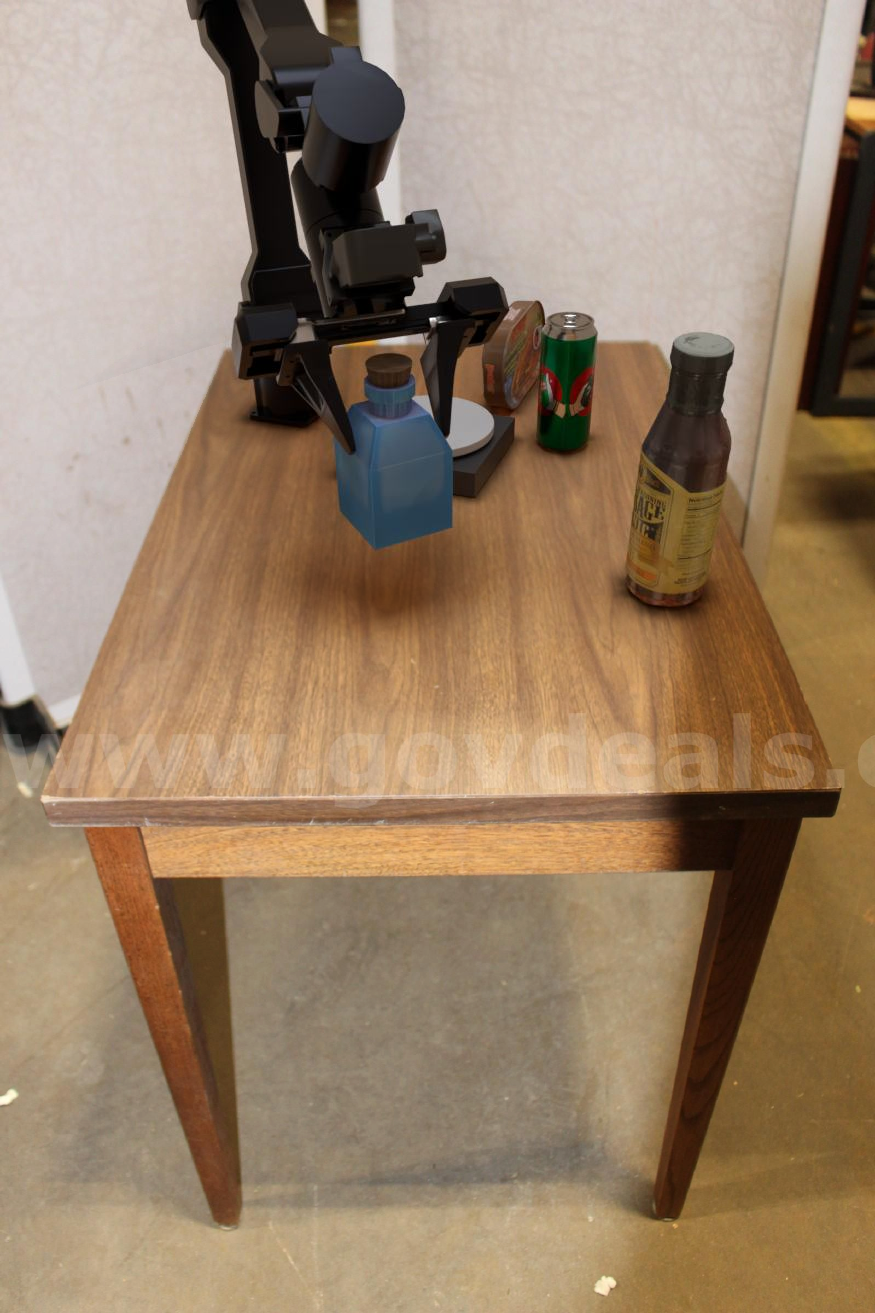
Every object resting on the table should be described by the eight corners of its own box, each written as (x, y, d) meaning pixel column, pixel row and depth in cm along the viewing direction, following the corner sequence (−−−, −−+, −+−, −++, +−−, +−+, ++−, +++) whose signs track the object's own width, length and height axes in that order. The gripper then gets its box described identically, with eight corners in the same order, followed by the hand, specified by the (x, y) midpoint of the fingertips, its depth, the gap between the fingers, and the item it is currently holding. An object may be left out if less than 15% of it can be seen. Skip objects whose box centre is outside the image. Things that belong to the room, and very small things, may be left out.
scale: (338, 476, 97) (335, 440, 95) (390, 421, 107) (388, 387, 104) (473, 499, 94) (473, 462, 92) (514, 440, 103) (515, 405, 101)
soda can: (588, 431, 104) (598, 310, 97) (589, 455, 100) (599, 330, 93) (536, 430, 105) (542, 308, 97) (535, 453, 101) (541, 329, 93)
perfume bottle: (375, 550, 75) (366, 389, 67) (339, 510, 79) (327, 355, 72) (452, 527, 77) (452, 369, 69) (413, 490, 81) (409, 337, 74)
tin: (506, 422, 106) (508, 340, 101) (476, 418, 107) (476, 336, 102) (547, 366, 117) (551, 289, 112) (519, 363, 118) (522, 286, 113)
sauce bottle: (615, 569, 85) (642, 323, 72) (692, 565, 85) (732, 319, 73) (634, 617, 79) (666, 360, 67) (716, 612, 80) (763, 356, 68)
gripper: (216, 178, 64) (275, 424, 63) (503, 150, 69) (564, 378, 68) (210, 270, 75) (261, 482, 73) (459, 240, 80) (511, 438, 78)
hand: (399, 445), depth 73 cm, fingers closed on perfume bottle, 6 cm apart
